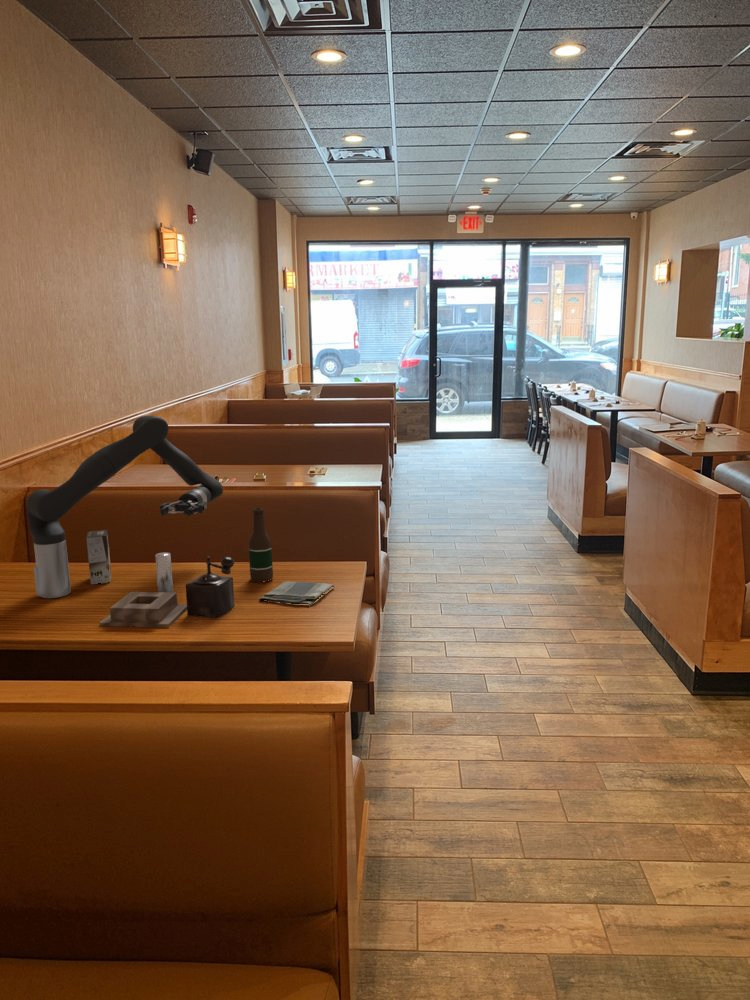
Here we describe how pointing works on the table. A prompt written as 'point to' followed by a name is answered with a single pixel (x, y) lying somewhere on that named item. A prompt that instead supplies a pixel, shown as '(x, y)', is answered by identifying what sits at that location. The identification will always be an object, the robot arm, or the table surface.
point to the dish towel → (297, 592)
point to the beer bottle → (260, 550)
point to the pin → (164, 572)
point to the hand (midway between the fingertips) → (175, 512)
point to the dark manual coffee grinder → (211, 591)
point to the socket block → (145, 610)
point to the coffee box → (98, 556)
